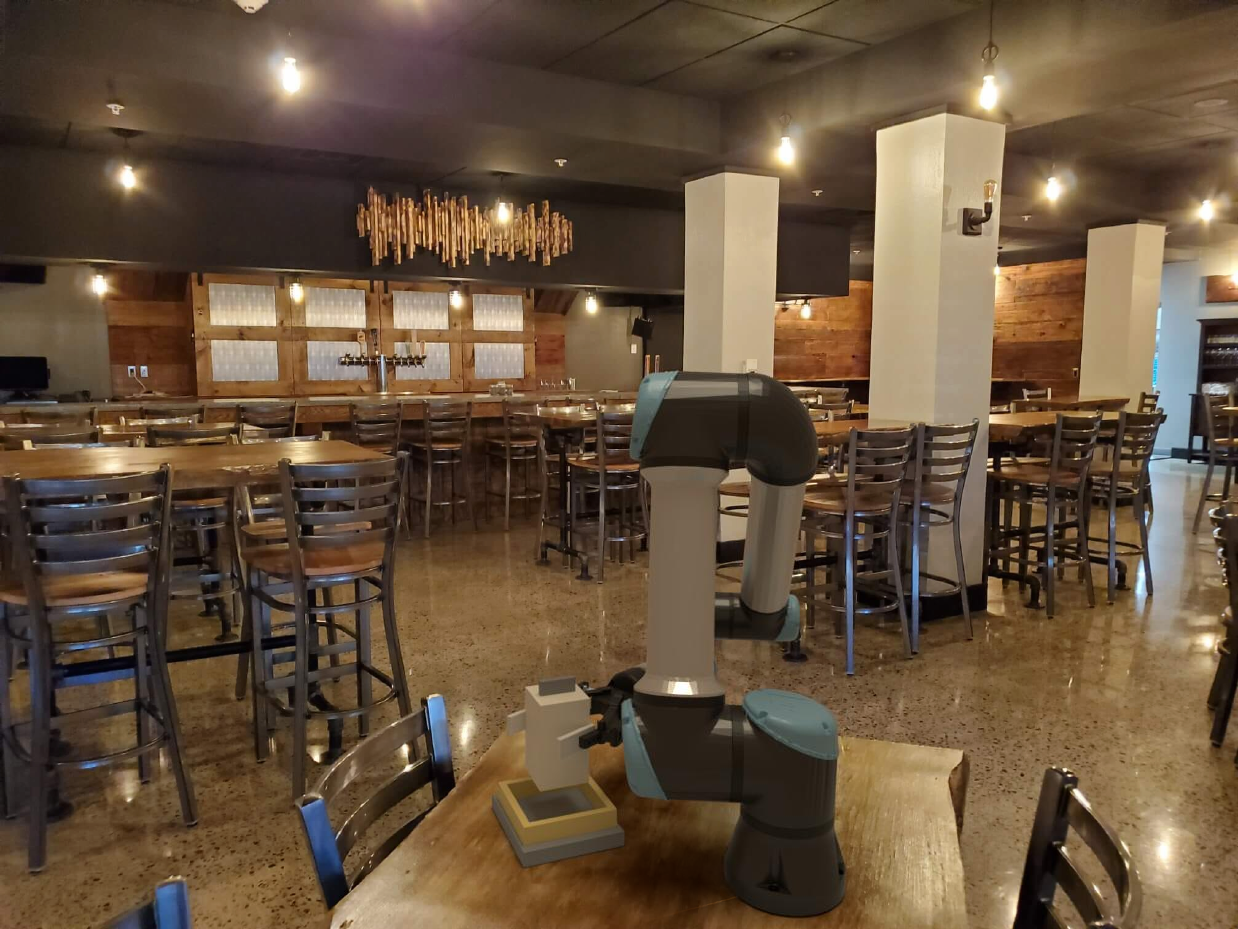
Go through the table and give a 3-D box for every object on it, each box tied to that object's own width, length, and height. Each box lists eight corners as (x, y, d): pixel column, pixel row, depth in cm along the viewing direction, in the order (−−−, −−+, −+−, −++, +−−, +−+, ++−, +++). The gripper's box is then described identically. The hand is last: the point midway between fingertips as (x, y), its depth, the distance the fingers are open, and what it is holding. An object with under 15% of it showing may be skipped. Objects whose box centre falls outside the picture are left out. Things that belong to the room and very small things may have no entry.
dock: (624, 845, 114) (624, 814, 113) (523, 867, 108) (523, 834, 108) (582, 790, 129) (583, 762, 128) (492, 807, 123) (492, 778, 123)
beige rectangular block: (589, 782, 116) (590, 684, 115) (540, 791, 114) (540, 691, 112) (571, 759, 123) (572, 666, 121) (525, 768, 120) (525, 673, 118)
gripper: (698, 736, 124) (591, 792, 107) (590, 694, 138) (481, 738, 122) (699, 686, 123) (591, 736, 106) (590, 649, 137) (480, 688, 121)
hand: (532, 737), depth 114 cm, fingers closed on beige rectangular block, 9 cm apart
